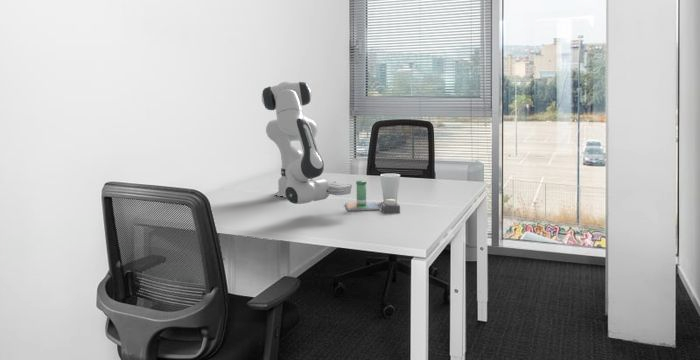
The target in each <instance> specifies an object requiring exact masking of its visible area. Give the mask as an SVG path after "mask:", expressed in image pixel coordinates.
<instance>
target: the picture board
mask: <svg viewBox="0 0 700 360" xmlns="http://www.w3.org/2000/svg"><path fill="white" fill-rule="evenodd" d="M344 203H345V202H344ZM344 205H345V207H346V210H347V211H348V212H368V211H369V212H373V211H374V212H375V211H380V210H381V209H380V207H379V206H378V205H377V203H375V202H366V206H357V202H346V203H345V204H344Z"/></svg>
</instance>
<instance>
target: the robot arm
mask: <svg viewBox="0 0 700 360" xmlns="http://www.w3.org/2000/svg"><path fill="white" fill-rule="evenodd" d="M311 99H312V89H311V88H310V86H309V84H308V83H306V82H304V81H299V82H289V81H282V82H280V83H279V84H278V85H274V86H268V87H265V88H263V90H262V93H261V102H262V105H263V106H264V108H265V109H266V110H268V111H275V113H276V119H273V120H269V121H268V123H267V125H266V126H265V127H266V128H265V133H266V135H267V137H268V139H269V140H271V141H272V142H273V143H274V144H275V145H276V146H277V148H278V150H279V153H280V159H281V168H280V175H281V177H280V178H278V182H277V183H278V184H277V185H278V188H277V190H278V191H277V192H276V193H274V196H275V195H277V196H276V197H280V196H283V197H282V198H286V199H287V200H288V201H289V203H291V204H294V205H303V204H309V203H312V202H316V201H317V202H318V201H321V200H322V201H323V200H326V199H328V197H329V195H331V196H332V195H333V196H344V195H350V194H351V193H352V188H353V186H352V184H351V183H350V184H345V183H340V182H337V181H328V180H326V179H323V178H318V177H320V176H321V175H322V174H323V172H324V168H325V164H324V160H323V158H322V156H321V154H320V152H319V150H318V147H317V144H316V140H315V138H316V137H317V135H318V126H317V123H316V122H315V120H313V119H311V118H309V117H307V116H306V115H305V114H304V113H303V109H302V106H306V105H308V104H310V102H311ZM292 142H299V143H300V146H301V149H302V150H301V149H299V148H298V147H296V146H294V145H293V144H292Z"/></svg>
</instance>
